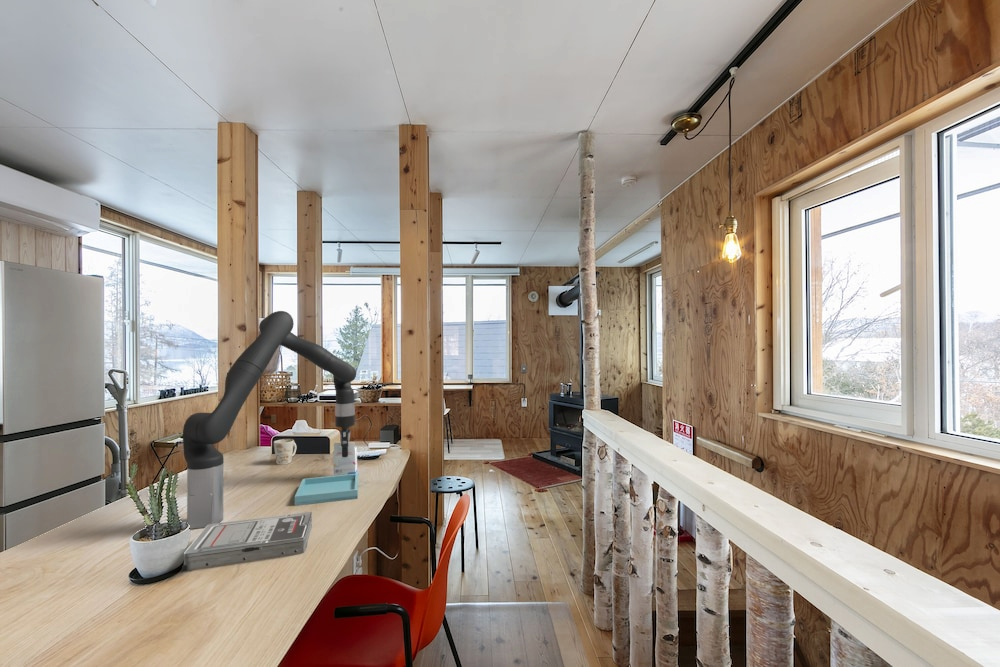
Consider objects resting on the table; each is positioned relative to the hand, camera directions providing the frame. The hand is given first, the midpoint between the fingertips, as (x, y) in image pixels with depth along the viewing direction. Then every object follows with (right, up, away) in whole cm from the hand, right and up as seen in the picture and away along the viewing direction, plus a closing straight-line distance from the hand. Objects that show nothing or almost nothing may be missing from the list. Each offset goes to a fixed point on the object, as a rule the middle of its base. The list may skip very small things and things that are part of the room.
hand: (345, 454), depth 175 cm
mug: (-36, -11, +25) cm, 45 cm away
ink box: (0, -10, 0) cm, 10 cm away
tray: (0, -9, -17) cm, 19 cm away
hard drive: (-4, -9, -58) cm, 59 cm away
